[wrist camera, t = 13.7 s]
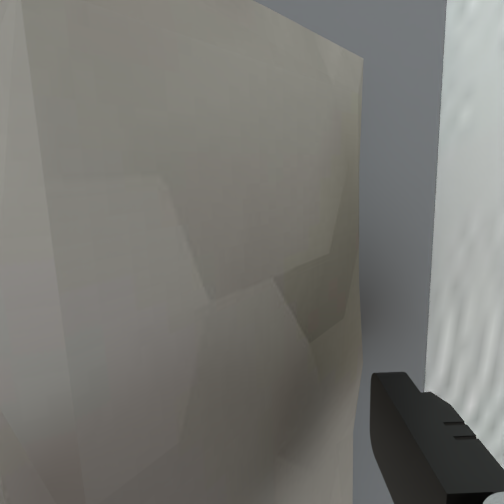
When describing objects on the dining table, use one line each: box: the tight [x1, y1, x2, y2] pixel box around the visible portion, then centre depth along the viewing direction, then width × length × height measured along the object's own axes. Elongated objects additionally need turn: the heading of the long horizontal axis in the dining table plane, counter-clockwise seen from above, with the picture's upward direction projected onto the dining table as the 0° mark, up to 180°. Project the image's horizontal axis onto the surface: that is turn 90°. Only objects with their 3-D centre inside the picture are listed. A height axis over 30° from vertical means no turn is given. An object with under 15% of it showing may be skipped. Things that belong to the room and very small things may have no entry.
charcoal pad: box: [253, 0, 447, 504], centre depth 14 cm, size 14×24×1 cm, turn 3°
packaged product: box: [0, 0, 364, 504], centre depth 10 cm, size 18×5×10 cm
